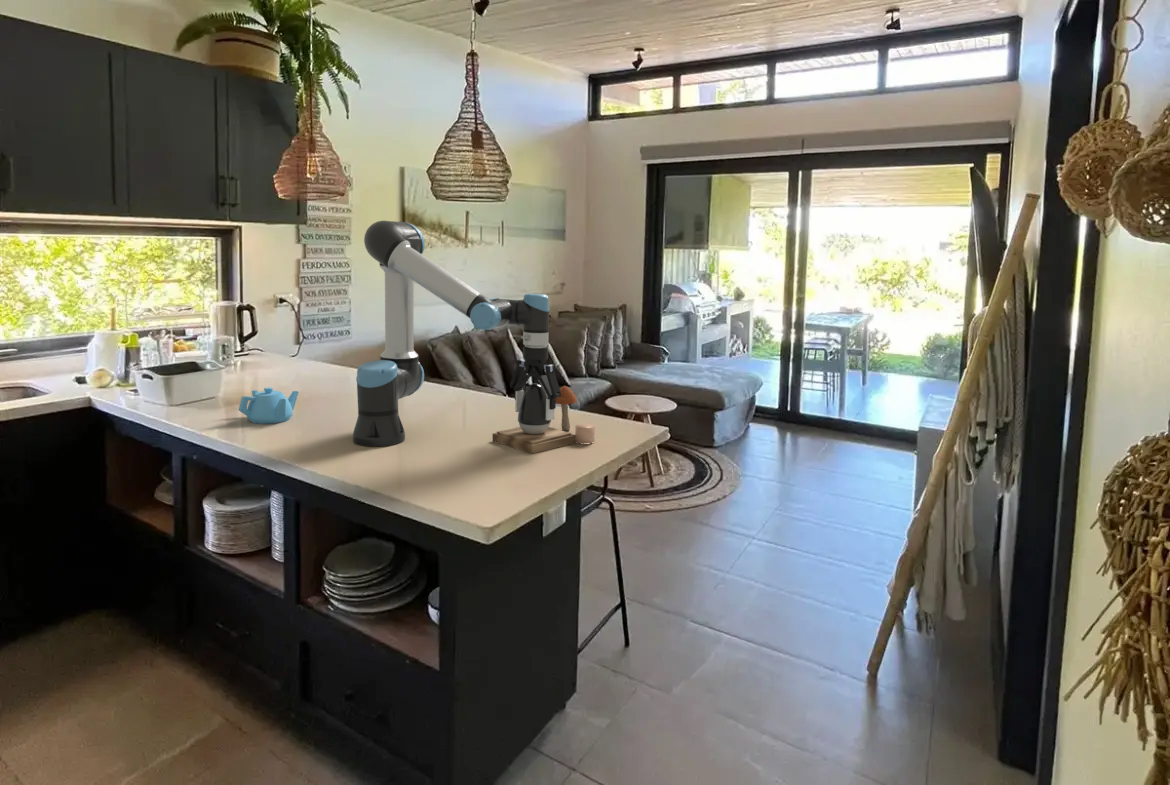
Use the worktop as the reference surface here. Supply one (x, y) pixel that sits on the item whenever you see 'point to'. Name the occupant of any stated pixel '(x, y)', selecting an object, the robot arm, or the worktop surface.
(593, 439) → the pink rounded glossy part
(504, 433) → the walnut tray
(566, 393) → the mushroom
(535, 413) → the pump dispenser
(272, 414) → the teapot
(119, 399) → the worktop surface
